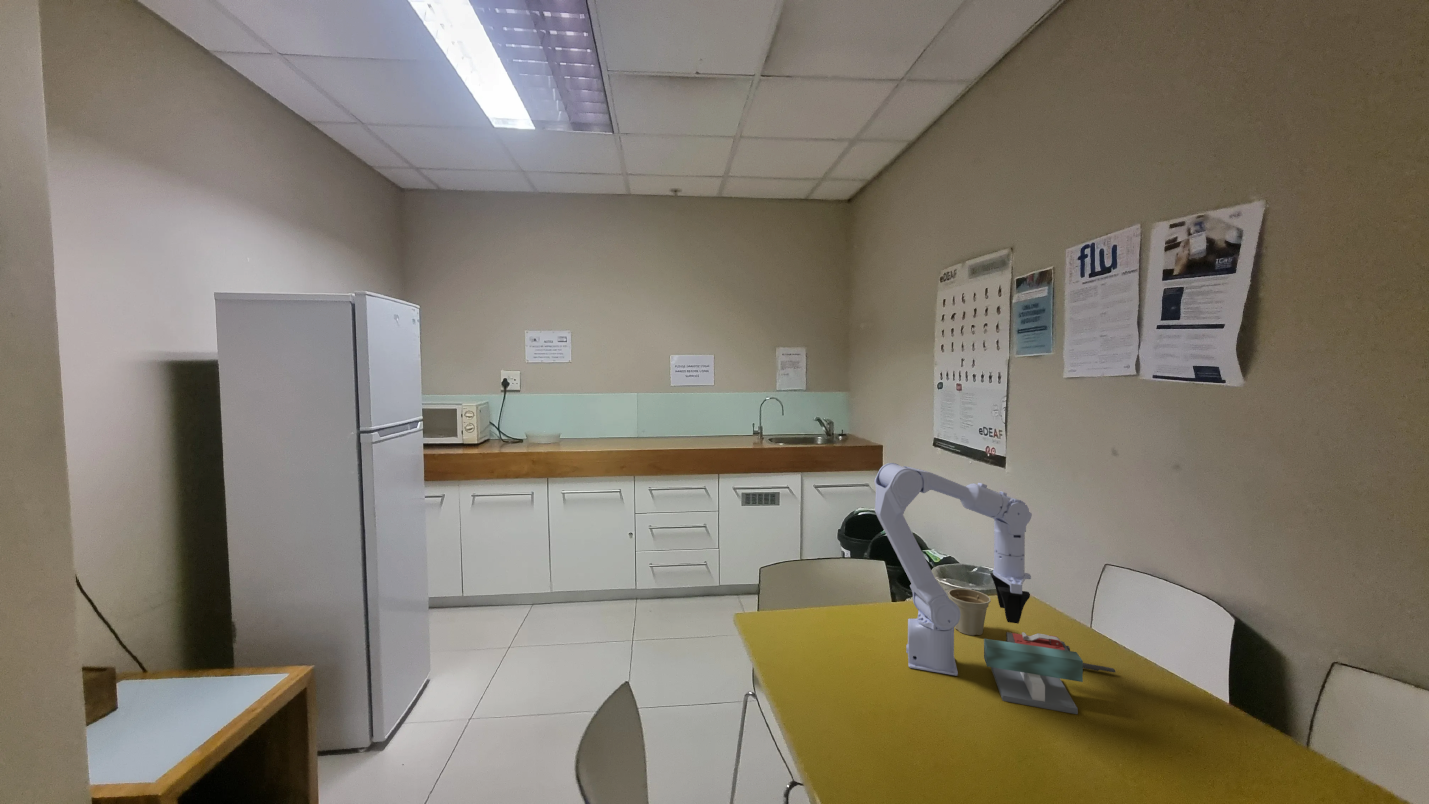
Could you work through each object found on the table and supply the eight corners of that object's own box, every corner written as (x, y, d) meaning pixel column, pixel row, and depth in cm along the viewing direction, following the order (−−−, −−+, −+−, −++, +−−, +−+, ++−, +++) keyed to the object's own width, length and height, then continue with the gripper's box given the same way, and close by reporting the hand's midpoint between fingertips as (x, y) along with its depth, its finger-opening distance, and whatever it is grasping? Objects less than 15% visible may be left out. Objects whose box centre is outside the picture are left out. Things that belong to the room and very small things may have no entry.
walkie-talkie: (1004, 659, 110) (1117, 680, 102) (1005, 639, 110) (1117, 659, 102) (1000, 641, 118) (1103, 659, 110) (1000, 623, 118) (1104, 639, 110)
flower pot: (984, 623, 127) (984, 590, 127) (996, 641, 118) (996, 604, 118) (944, 620, 129) (944, 586, 129) (952, 637, 120) (953, 601, 120)
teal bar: (986, 666, 99) (987, 646, 99) (984, 657, 103) (984, 638, 103) (1082, 682, 94) (1082, 660, 94) (1076, 672, 97) (1076, 651, 97)
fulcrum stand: (1002, 700, 95) (1002, 679, 95) (991, 668, 106) (991, 649, 106) (1077, 714, 90) (1077, 692, 90) (1057, 679, 102) (1057, 659, 102)
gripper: (1039, 564, 100) (1039, 632, 100) (1022, 544, 114) (1022, 604, 114) (999, 561, 102) (999, 626, 102) (987, 541, 116) (987, 600, 116)
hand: (1008, 614), depth 108 cm, fingers open, 7 cm apart
